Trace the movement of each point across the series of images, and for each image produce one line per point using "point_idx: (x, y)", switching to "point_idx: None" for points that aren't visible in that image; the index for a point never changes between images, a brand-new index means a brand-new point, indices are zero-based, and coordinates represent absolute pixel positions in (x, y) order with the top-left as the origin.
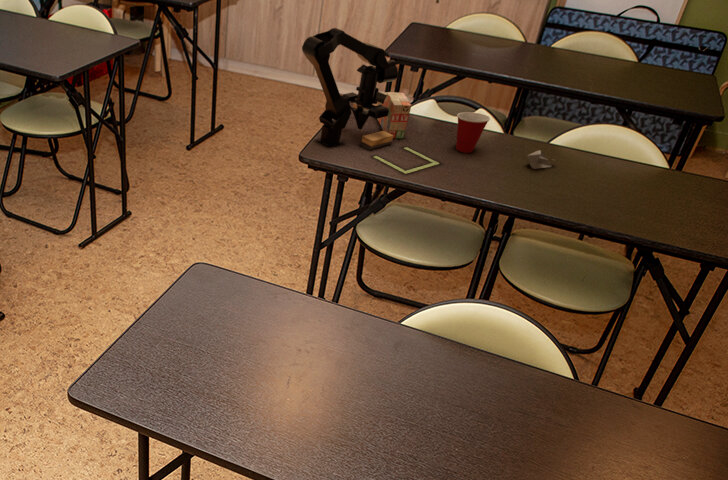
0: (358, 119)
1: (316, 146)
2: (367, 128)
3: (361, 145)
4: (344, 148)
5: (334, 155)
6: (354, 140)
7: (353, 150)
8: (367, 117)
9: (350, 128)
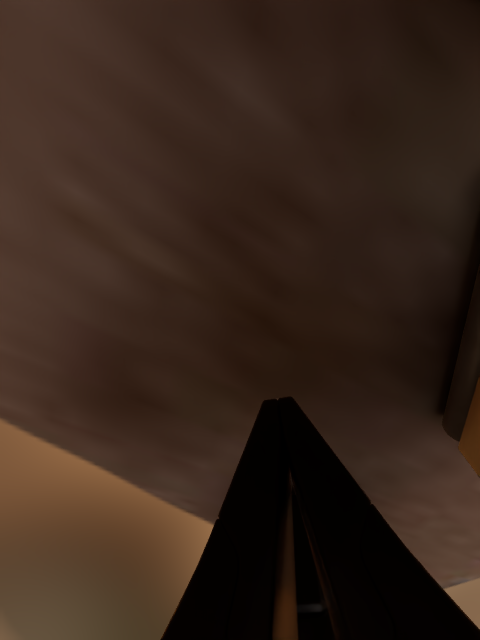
0: (292, 589)
1: None
2: (64, 120)
3: (444, 418)
4: (397, 498)
5: (432, 549)
6: (327, 411)
7: (456, 476)
8: (449, 624)
9: (65, 325)
